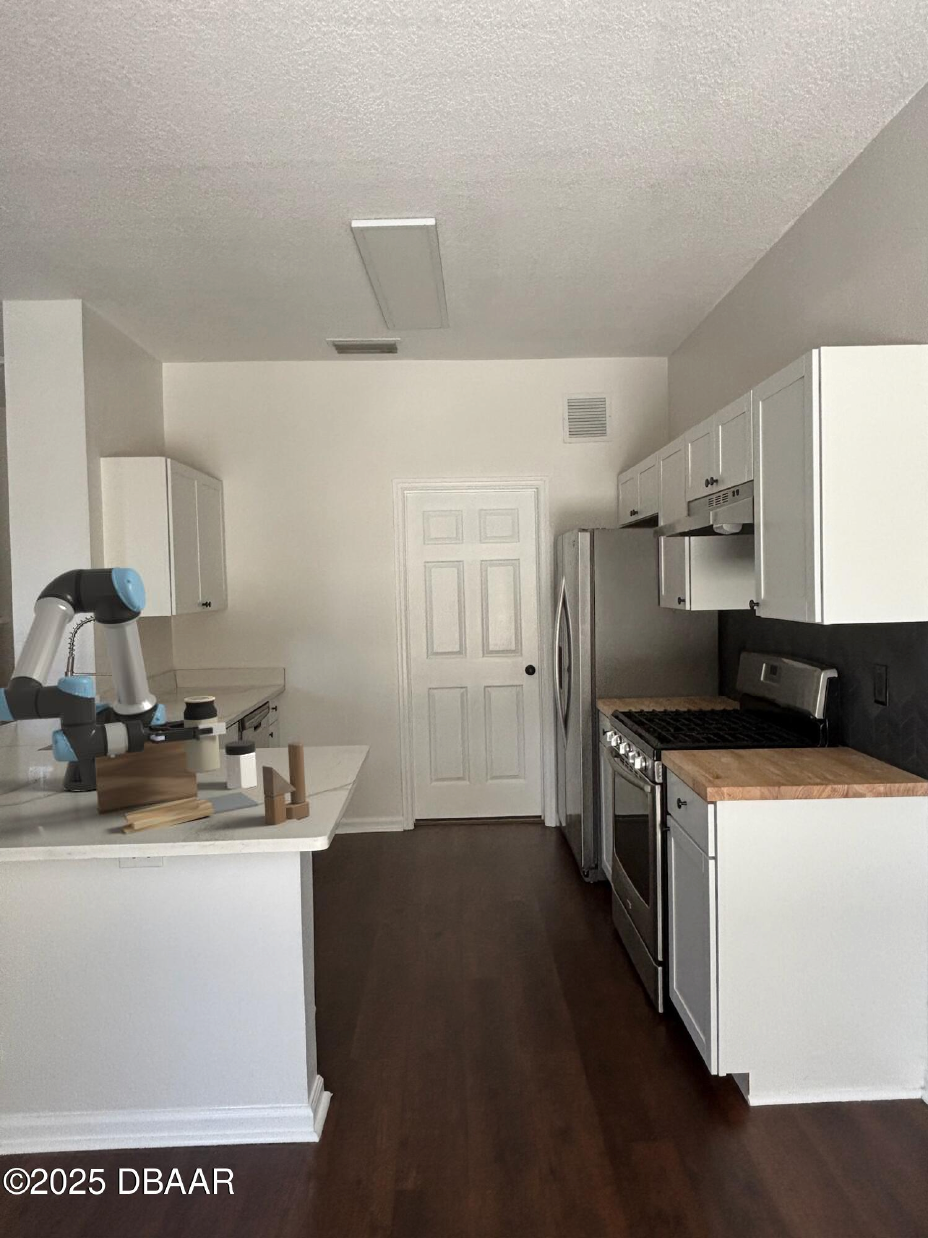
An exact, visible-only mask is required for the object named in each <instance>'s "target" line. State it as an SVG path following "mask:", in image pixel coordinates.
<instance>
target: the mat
mask: <svg viewBox="0 0 928 1238" xmlns="http://www.w3.org/2000/svg"><path fill="white" fill-rule="evenodd" d="M197 800H198V801H201V800H207V801H209V802H210V803H212V808H213V811H214V814H212V815H218V814H223V813H228V812H233V811H239V810H243V809H244V810H245V809H248V808H254V807H259V803H258V802H257V801H255V800H254V799H253V798H251V797H249V796H248V795H246V794H245V793H243V792H242V791H239V792H233V793H228V794H221V795H217V796H211V797H206V798H200V799H197ZM212 815H211V816H212Z"/></svg>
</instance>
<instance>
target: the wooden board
mask: <svg viewBox="0 0 928 1238" xmlns="http://www.w3.org/2000/svg"><path fill="white" fill-rule="evenodd" d="M95 767H96V783H97V790H96V793H97V794H96V796H97V807H96V813H97V812H98V813H99V814H98V815H103V814H110V813H115V812H120V811H121V812H122V811H126V810H133V809H137V808H142V807H143V808H144V807H150V806H156V805H160V804H161V805H162V804H168V803H173V802H177V801H181V800H186V799H190V798H194V797H195V798H198V784H197V773H192V772H189V771H187V766H186V748H185V740H183V741H174V742H165V743H159V744H155V743H152V742H145V743H144V749H143V751H141V752H134V753H127V752H126V751H125V753H124V754H118V755H117V754H115V757H114V758H112V757H111V755H110V756H104V757H97V758H95Z"/></svg>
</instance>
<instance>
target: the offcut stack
mask: <svg viewBox="0 0 928 1238" xmlns="http://www.w3.org/2000/svg"><path fill="white" fill-rule="evenodd" d="M198 800H199V799H197V797H194V798H189V799H184V800H178V801H172V802H167V803H163V804H161V805H160V804H159V805H154V806H151V807H147V808H143V809H139V810H135V811H131V812H126V813H124V817H125V818H124V819H125V821H126V822H127V824H125V825H121V830H122V831H123V832H124V834H125V835H128V834H130V835H131V834H135V833H140V832H144V831H149V830H155V829H159V828H160V829H161V828H164V827H169V826H173V825H178V824H181V823H185V822H186V823H187V822H188V821H189V822H190V821H193V820H197V819H201V818H204V817H208V816H212V814H213V815H215V814H214V811H213V808H212V803H210V802H209V801H207V800H201V801H198Z"/></svg>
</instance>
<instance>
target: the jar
mask: <svg viewBox="0 0 928 1238" xmlns="http://www.w3.org/2000/svg"><path fill="white" fill-rule="evenodd" d="M224 750H225V768H226V785H227V789H229V790H238V789H244V788H245V789H250V787H251V788H254V787H257V786H258V785H257V784H258V774H257V754H256V751H257V750H256V741H254V740H250V739H249V740H246V739H245V740H244V739H243V740H234V741H229V742H227V743H225V744H224Z"/></svg>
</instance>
